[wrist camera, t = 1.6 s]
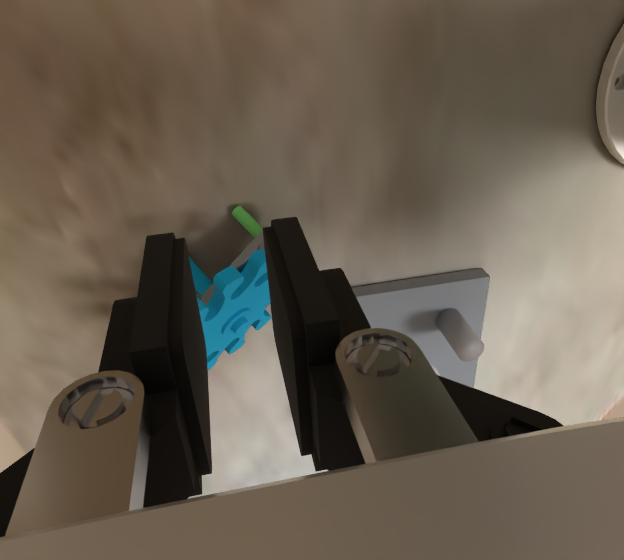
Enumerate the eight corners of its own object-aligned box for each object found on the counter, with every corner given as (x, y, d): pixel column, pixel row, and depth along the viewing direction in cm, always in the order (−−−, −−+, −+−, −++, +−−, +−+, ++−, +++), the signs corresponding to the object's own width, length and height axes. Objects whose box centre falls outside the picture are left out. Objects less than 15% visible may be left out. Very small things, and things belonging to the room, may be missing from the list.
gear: (221, 382, 35) (133, 398, 26) (167, 320, 37) (66, 313, 27) (335, 262, 34) (287, 233, 25) (274, 203, 36) (207, 154, 26)
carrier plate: (481, 268, 37) (521, 309, 32) (455, 461, 47) (482, 511, 43) (333, 290, 35) (353, 336, 31) (339, 484, 46) (355, 539, 41)
